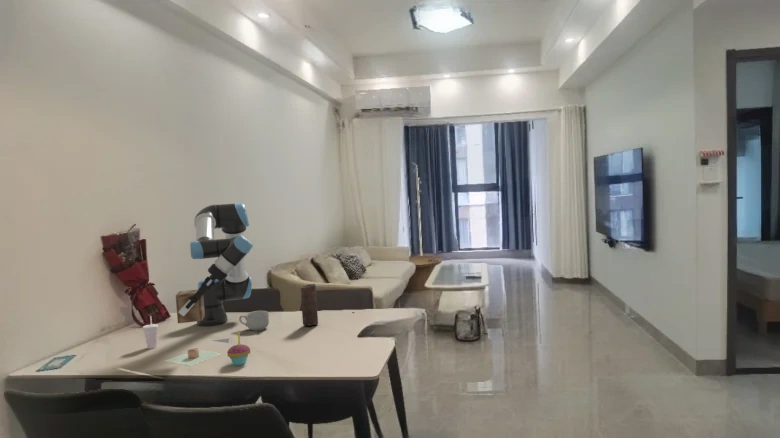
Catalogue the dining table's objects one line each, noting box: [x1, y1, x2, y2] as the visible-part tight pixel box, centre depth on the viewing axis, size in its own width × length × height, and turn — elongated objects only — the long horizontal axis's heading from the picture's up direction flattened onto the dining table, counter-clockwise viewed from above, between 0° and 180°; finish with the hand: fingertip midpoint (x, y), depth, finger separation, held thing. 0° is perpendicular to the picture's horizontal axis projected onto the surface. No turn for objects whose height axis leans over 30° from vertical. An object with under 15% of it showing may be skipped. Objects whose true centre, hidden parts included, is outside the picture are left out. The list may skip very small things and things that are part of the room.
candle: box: [300, 283, 319, 327], centre depth 251 cm, size 8×7×20 cm
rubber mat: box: [211, 338, 230, 344], centre depth 227 cm, size 16×12×1 cm
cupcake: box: [226, 332, 251, 366], centre depth 198 cm, size 9×8×12 cm
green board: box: [164, 349, 223, 367], centre depth 208 cm, size 16×16×1 cm
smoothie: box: [142, 315, 159, 350], centre depth 228 cm, size 6×6×14 cm
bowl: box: [187, 347, 200, 359], centre depth 208 cm, size 4×4×3 cm
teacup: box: [238, 310, 270, 332], centre depth 250 cm, size 14×11×8 cm
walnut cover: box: [175, 289, 205, 324], centre depth 207 cm, size 9×10×11 cm
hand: (182, 311), depth 207 cm, fingers closed on walnut cover, 10 cm apart
